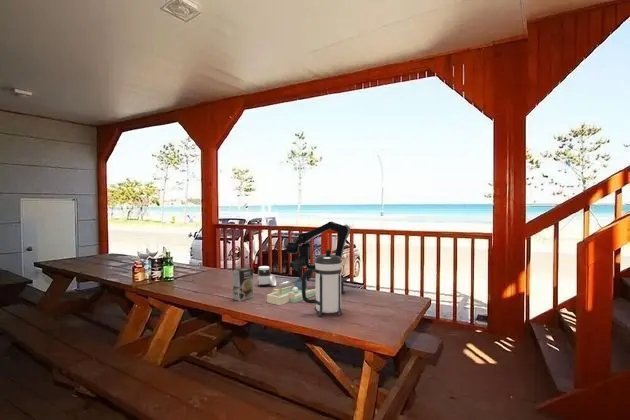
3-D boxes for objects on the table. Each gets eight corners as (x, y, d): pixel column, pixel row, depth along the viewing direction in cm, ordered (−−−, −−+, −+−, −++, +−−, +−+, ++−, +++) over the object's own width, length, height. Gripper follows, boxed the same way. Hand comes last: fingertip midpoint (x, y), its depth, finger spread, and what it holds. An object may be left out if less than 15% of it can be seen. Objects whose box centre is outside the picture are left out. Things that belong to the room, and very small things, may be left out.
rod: (315, 286, 194) (315, 276, 194) (288, 295, 175) (288, 284, 175) (304, 284, 199) (304, 274, 199) (277, 293, 180) (277, 282, 180)
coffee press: (323, 305, 166) (323, 246, 165) (350, 311, 156) (350, 248, 155) (300, 314, 152) (300, 250, 152) (328, 322, 142) (328, 253, 142)
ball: (299, 292, 183) (299, 286, 183) (295, 293, 180) (295, 287, 180) (294, 291, 185) (294, 285, 185) (291, 292, 182) (291, 287, 182)
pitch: (317, 294, 186) (317, 285, 186) (284, 306, 164) (284, 296, 164) (295, 290, 195) (295, 281, 195) (262, 301, 173) (262, 291, 173)
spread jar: (257, 284, 211) (256, 266, 211) (274, 282, 214) (274, 265, 214) (259, 288, 200) (259, 269, 199) (277, 287, 203) (277, 268, 203)
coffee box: (240, 301, 173) (240, 271, 173) (232, 299, 177) (232, 269, 177) (253, 297, 180) (253, 268, 180) (245, 295, 184) (245, 267, 184)
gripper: (283, 254, 195) (283, 280, 195) (307, 257, 184) (308, 285, 184) (295, 252, 204) (295, 277, 204) (319, 254, 192) (319, 281, 193)
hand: (304, 280), depth 196 cm, fingers open, 5 cm apart
